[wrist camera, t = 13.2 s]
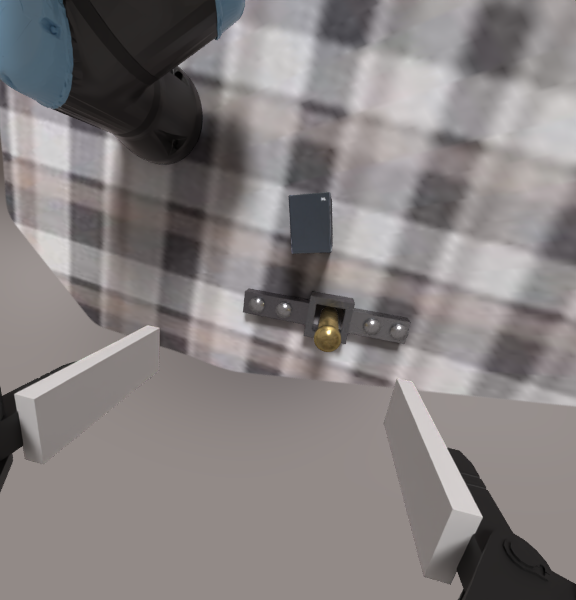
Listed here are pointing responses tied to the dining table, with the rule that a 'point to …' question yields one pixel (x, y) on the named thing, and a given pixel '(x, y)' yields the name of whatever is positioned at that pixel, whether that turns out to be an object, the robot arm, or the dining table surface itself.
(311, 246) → the box
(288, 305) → the studded dark bracket
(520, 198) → the dining table surface
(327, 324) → the pin
